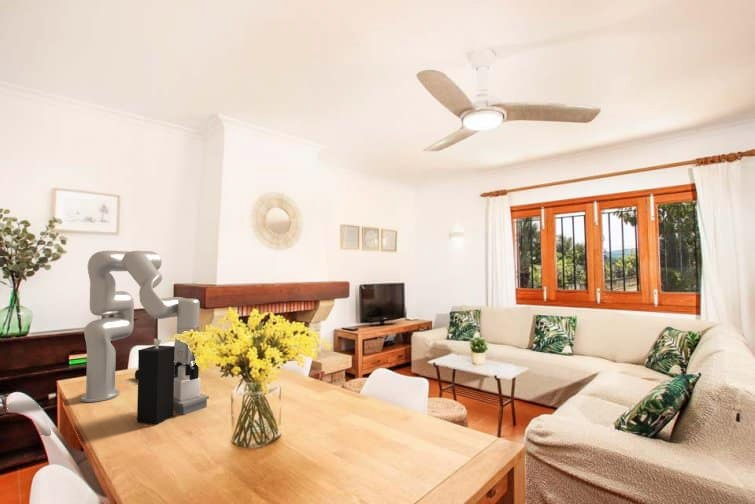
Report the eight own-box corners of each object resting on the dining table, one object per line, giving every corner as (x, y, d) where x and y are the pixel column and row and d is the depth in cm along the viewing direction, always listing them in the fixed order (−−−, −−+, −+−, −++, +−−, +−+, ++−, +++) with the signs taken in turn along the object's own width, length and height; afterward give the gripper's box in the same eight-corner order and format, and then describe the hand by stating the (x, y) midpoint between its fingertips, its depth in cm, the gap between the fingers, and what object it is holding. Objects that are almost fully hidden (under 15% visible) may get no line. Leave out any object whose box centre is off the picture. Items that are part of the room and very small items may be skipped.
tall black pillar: (156, 425, 125) (158, 341, 126) (136, 423, 127) (138, 340, 128) (173, 416, 133) (175, 337, 134) (154, 414, 135) (156, 336, 136)
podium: (164, 408, 140) (164, 398, 140) (190, 400, 148) (190, 390, 148) (183, 415, 133) (183, 404, 133) (208, 406, 142) (208, 396, 142)
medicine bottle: (192, 392, 146) (193, 361, 146) (200, 396, 141) (200, 364, 142) (172, 397, 141) (173, 365, 141) (180, 401, 136) (180, 368, 136)
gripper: (165, 330, 143) (163, 375, 143) (191, 335, 134) (190, 383, 133) (184, 327, 149) (182, 370, 149) (210, 332, 140) (209, 378, 140)
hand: (186, 376), depth 141 cm, fingers open, 9 cm apart
